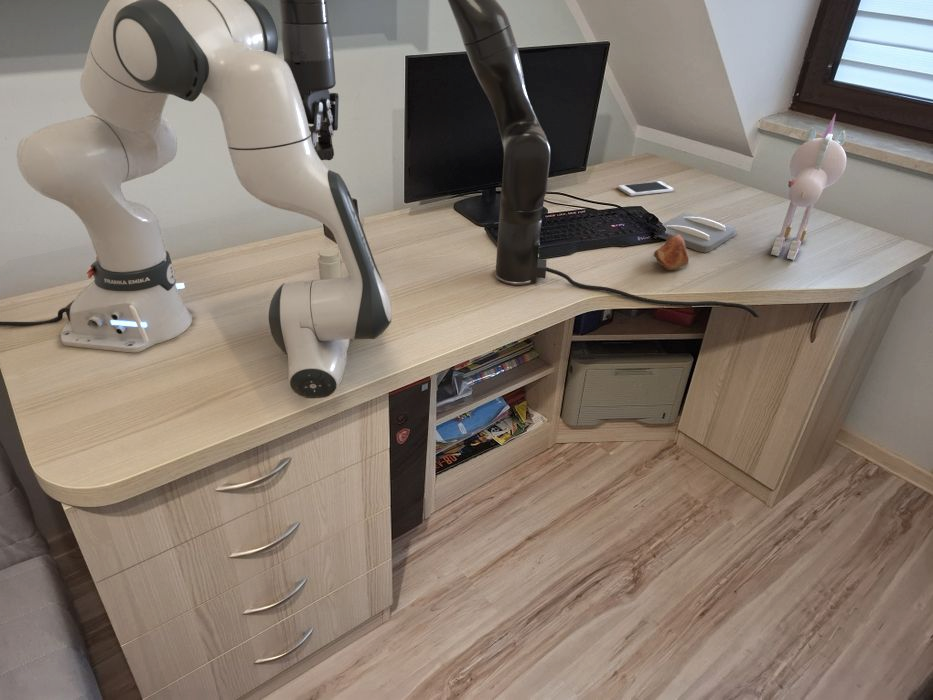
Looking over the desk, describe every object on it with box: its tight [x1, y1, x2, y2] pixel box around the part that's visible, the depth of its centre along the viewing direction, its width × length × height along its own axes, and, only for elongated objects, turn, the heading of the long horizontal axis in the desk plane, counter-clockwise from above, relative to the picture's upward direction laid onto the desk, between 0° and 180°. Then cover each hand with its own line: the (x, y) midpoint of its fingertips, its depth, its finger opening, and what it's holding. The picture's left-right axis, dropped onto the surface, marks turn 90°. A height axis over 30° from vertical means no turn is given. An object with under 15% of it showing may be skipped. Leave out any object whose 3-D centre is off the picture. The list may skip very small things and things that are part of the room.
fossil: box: [653, 234, 690, 271], centre depth 150 cm, size 13×8×10 cm
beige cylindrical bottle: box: [317, 247, 344, 280], centre depth 121 cm, size 4×4×16 cm
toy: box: [770, 112, 847, 261], centre depth 159 cm, size 12×36×30 cm, turn 148°
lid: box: [316, 141, 335, 161], centre depth 106 cm, size 5×5×2 cm
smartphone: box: [617, 180, 674, 197], centre depth 196 cm, size 7×16×1 cm, turn 111°
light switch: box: [654, 212, 737, 253], centre depth 167 cm, size 18×3×15 cm
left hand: (333, 293), depth 122 cm, fingers closed on beige cylindrical bottle, 4 cm apart
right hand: (319, 163), depth 108 cm, fingers closed on lid, 5 cm apart
